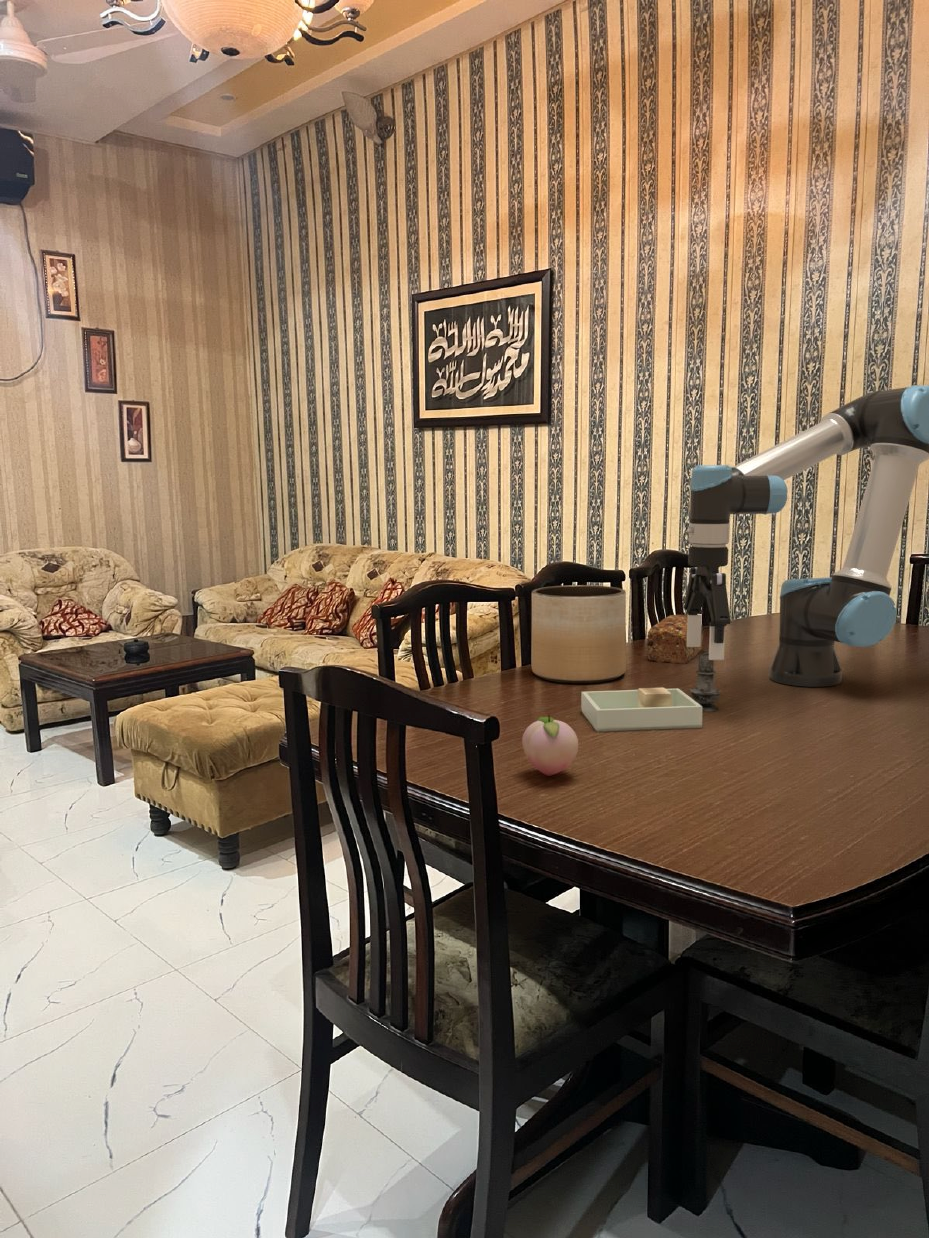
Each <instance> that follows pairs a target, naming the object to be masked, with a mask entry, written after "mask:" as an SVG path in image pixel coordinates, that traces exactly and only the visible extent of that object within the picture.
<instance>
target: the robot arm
mask: <svg viewBox="0 0 929 1238" xmlns="http://www.w3.org/2000/svg"><path fill="white" fill-rule="evenodd" d="M819 421H820V422H819V423H817V424H814V426H811V427H809V428H807V429H805V430H804V431H801V432H799V433H797V434H795V435H793V436H791V437H789V438H787V439H786V440H784V441H781V442H779V443H777V444H776V445H773V446H771V447H770V448H767V449H765V450H764V451H762V452H759V453H758V454H756V455H754V456H752V457H750V458H748V459H745V460H744V461H742V462H740V463H738V464H735V465H733V466H732V467H731V466H730V465H729V464H727V465H726V464H725V465H724V464H703V465H702V464H699V465H696V466H694V467H693V468H692V471H691V477H690V486H689V492H690V494H689V495H690V496H689V498H690V499H689V500H690V501H689V527H688V528H687V529H686V533H687V534H688V536H689V537H688V538H689V539H688V543H689V544H691V546H689V547H688V550H687V551H688V553H687V554H688V555H687V556H688V558H687V560H688V561H687V564H688V565H689V566H692V567H690V570H689V581H688V585H687V588H686V589H687V590H686V594H685V600H684V604H683V605H684V606H683V610H684V611H686V615H688V620H687V647H701V648H702V645H701V624H703V623H702V621H703V620H702V619H703V618H702V617H703V616H702V615H703V614H704V611H703V609H702V608H703V606H704V603H705V600H706V603H707V607H708V612H709V616H710V621H709V622H708V627H709V642H708V644H709V645H708V653H709V660H714V661H723V660H724V661H725V643H726V641H725V640H726V626H727V625H730V624H731V623H732V621H731V614H730V606H729V599H728V597H729V596H728V590H727V574H726V573H725V572H723V573H722V572H720V567H721V568H722V567H723V568H724V567H726V566H727V565H728V564H729V548H728V547H727V546H726V545H728V544H729V543H730V531H731V530H730V529H731V526H730V525H731V524H730V521H731V515H769V514H770V515H771V514H777V513H779V512H780V511H782V510H783V509H784V507H785V506H786V504H787V501H788V487H787V484H786V482H785V481H786V480H787V479H789V478H792V477H793V476H795V475H798V474H800V473H802V472H804V471H805V470H807V469H809V468H812V467H813V466H815V465H817V464H819V463H821V462H823V461H825V460H827V459H829V458H831V457H832V456H834V455H837V456H843V455H847V454H849V453H850V452H851V453H852V452H853V451H856V450H859V449H865V448H869V450H871V452H872V454H873V455H874V460H873V462H872V466H871V470H870V473H869V476H868V479H867V483H866V486H865V490H864V492H863V493H864V494H863V496H862V500H861V503H860V504H861V505H860V508H859V510H858V511H859V512H858V515H857V517H856V521H855V523H854V524H855V525H854V528H853V531H852V534H851V538H850V541H849V544H848V548H847V552H846V555H845V559H844V562H843V566H842V568H841V569H839V570H837V571H835V572H833V573H832V576H831V577H830V576H829V577H811V578H809V577H808V578H795V579H786V580H785V581H783V582H782V584H781V585H780V586H781V587H780V595H779V630H778V631H779V632H778V646H777V649H776V651H775V654H774V656H773V659H772V662H771V665H770V667H769V679H770V680H771V681H773V682H776V683H778V684H779V683H780V684H783V685H789V686H795V687H809V688H810V687H812V688H813V687H814V688H816V687H821V688H823V687H831V686H837V685H840V683H842V673H843V672H842V668H841V665H840V662H839V658H838V654H837V653H836V649H835V642H836V643H837V642H838V643H842V644H843V645H848V646H849V647H860V648H861V647H862V648H865V647H871V646H874V645H875V646H876V645H877V644H878V643H881V642H882V641H883V640H885V639H886V638H887V637H888V636H889V634H890V633H891V632H892V630H893V629H894V626H895V623H896V620H897V614H898V613H897V608H896V607H895V605H896V602H895V600H893V598H892V597H891V591H892V585H891V584H890V582H889V581H888V577H887V576H888V573H889V570H890V567H891V563H892V559H893V557H894V553H895V549H896V546H897V542H898V538H899V536H900V533H901V530H902V529H901V528H902V526H903V523H904V518H905V515H906V512H907V509H908V506H909V502H910V499H911V495H912V492H913V488H914V484H915V482H916V478H917V475H918V471H919V468H920V465H921V464H923V463H925V462H927V461H928V460H929V385H918V384H917V385H915V384H914V385H911V386H906V387H900V388H899V387H898V388H891V389H885V390H882V389H881V390H875V391H873V392H870V393H867V394H864V395H861V396H859V397H858V398H856V399H854V400H852V401H849V402H847V403H845V404H843V405H841V406H840V407H838V408H836V409H834V410H832V411H830V412H828V413H826V414H825V415H823V417H821V419H820V420H819Z"/></svg>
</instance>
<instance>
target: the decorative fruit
mask: <svg viewBox="0 0 929 1238" xmlns="http://www.w3.org/2000/svg"><path fill="white" fill-rule="evenodd" d="M521 742H522V748H523V751H524V753H525V756H526V757H527V759H528V761H529V762H530V764H531V765H532V766H533V767H534V768H536V769H537V770H538V771H539V772H540V773H542V774H544V775H545V776H547V777H550V776H553V775H557V774H558V773H561V772H562V771H564V770H566V769H567V768H568V767H569V766H570V765H571V764H572V763H573V762H574V760H575V758H576V757H577V753H578V750H579V739H578V736H577V734H576V732H575V730H573V728H572V727H571V726H570V725H569V724H568V723H566V722H564V721H561V720H558V719H554V718H553V717H551V713H548V714H547V716H545V717H544V716H541V717H539V718H537V721H534V722H532V723H531V724H530V725H528V726H527V728H526V729H525V731H524V732H523V735H522V739H521Z"/></svg>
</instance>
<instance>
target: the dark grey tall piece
mask: <svg viewBox="0 0 929 1238" xmlns="http://www.w3.org/2000/svg"><path fill="white" fill-rule="evenodd" d="M714 661H715V660H709V650H708V649H707V648H706V649H704V652H703V653H701V654H700V655H699V656H698V664H697V665H698V666H697V669H698V670H696V673H697V683H696V686H695V687H692V688H690V690H689V692H690V693H691V698H692V699H693V700H694V701H696V702H697V703H698V704H700V705H701V706H702V712H715V711H716V712H717V711H718V710H719V707H718V706H717V705H716V704H715V702H717V701H718V699H719V696H720V694H721V693H722V691H721V690H720V689H718V688H716V687H715V683H714V674H716V671H715V670H714V663H715V662H714Z"/></svg>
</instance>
